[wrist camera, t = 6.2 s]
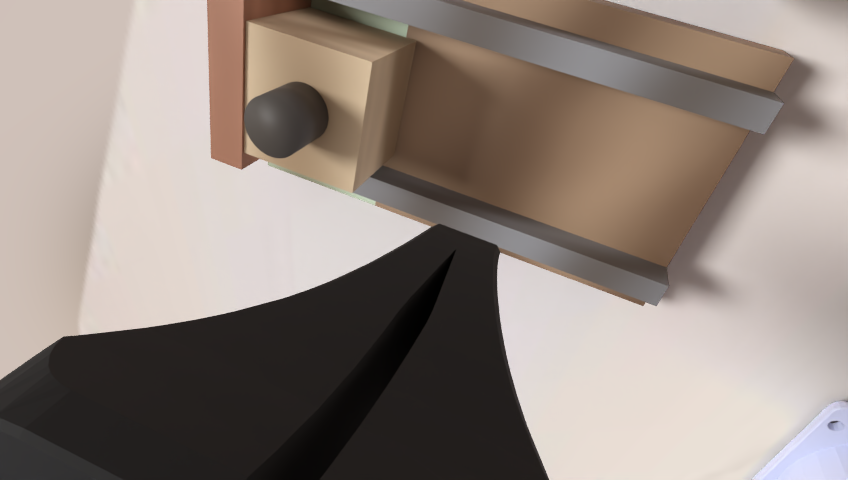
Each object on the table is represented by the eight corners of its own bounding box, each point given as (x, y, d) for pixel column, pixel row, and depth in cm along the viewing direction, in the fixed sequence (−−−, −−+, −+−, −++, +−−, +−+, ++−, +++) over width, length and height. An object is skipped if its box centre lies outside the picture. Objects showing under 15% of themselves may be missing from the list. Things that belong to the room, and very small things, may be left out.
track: (783, 50, 15) (840, 93, 11) (642, 288, 20) (645, 377, 16) (298, -86, 18) (198, -93, 13) (283, 155, 23) (207, 203, 19)
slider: (416, 40, 17) (345, 75, 13) (394, 154, 19) (328, 215, 15) (309, 7, 18) (208, 28, 13) (300, 121, 20) (212, 170, 16)
